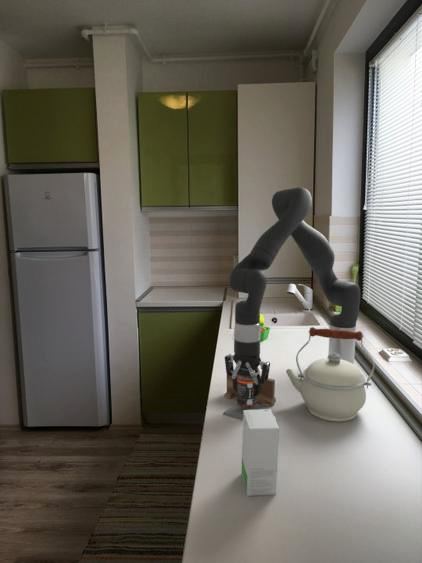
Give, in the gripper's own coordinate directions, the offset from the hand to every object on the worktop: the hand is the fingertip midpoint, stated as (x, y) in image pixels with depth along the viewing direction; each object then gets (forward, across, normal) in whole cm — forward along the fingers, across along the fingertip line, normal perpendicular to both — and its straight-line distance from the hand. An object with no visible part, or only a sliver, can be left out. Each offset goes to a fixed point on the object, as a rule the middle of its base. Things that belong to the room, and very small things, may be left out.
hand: (246, 392), depth 124 cm
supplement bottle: (+4, 0, 0) cm, 4 cm away
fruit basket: (+6, +30, -67) cm, 74 cm away
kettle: (+6, -20, -14) cm, 25 cm away
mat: (+6, 0, 0) cm, 6 cm away
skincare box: (+6, -18, +28) cm, 34 cm away
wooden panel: (+6, +3, -8) cm, 10 cm away
